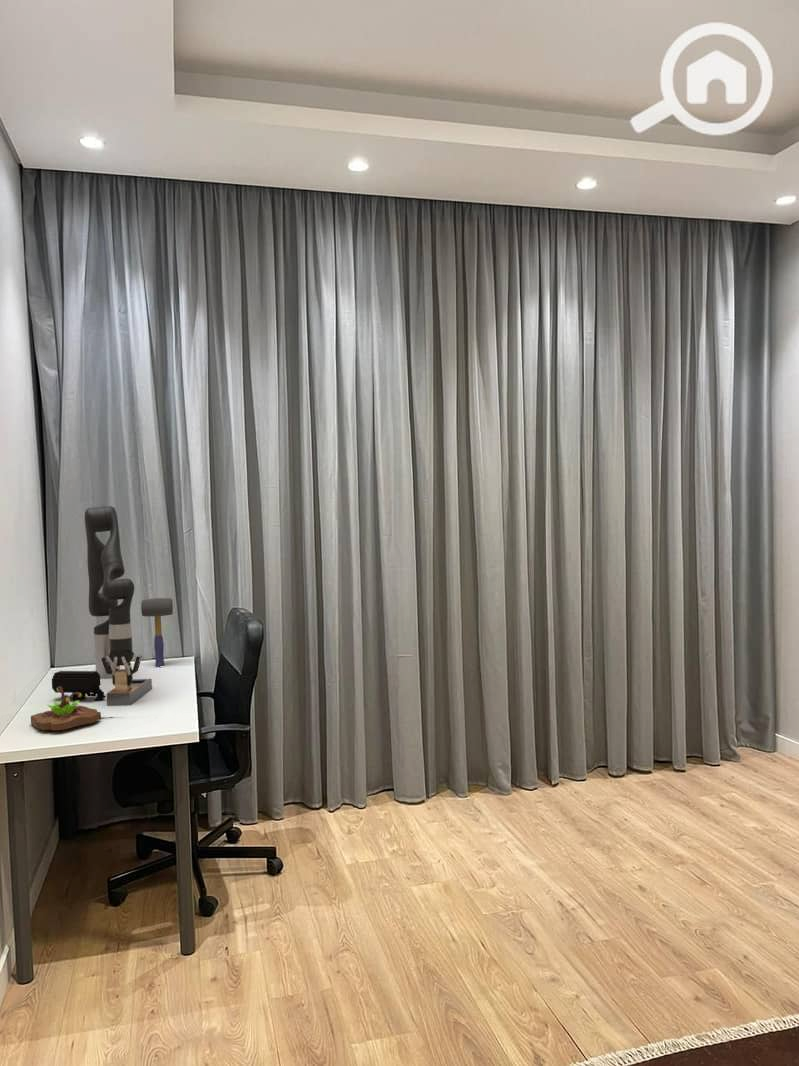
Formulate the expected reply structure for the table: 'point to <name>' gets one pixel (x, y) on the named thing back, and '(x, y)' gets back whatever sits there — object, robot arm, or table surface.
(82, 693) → the security camera
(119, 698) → the rail
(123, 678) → the brown upright block
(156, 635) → the rubber mallet
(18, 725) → the table surface
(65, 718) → the plant
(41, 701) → the table surface
